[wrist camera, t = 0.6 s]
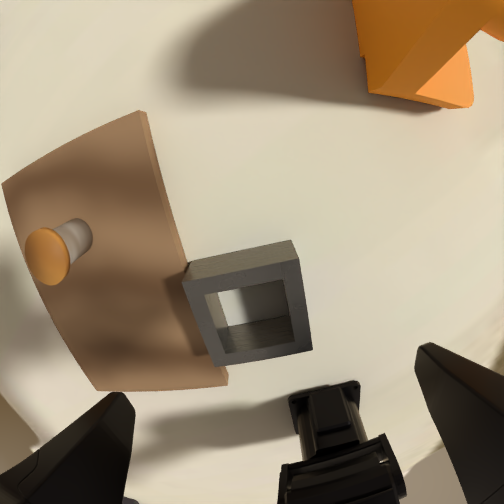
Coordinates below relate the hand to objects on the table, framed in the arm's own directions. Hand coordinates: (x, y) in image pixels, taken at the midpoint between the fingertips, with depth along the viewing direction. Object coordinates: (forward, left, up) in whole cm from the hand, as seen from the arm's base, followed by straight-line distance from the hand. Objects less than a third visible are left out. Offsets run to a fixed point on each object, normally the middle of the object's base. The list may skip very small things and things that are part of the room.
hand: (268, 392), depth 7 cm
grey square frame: (-3, +1, -11) cm, 12 cm away
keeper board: (0, +11, -11) cm, 16 cm away
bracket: (+13, -13, -12) cm, 22 cm away
